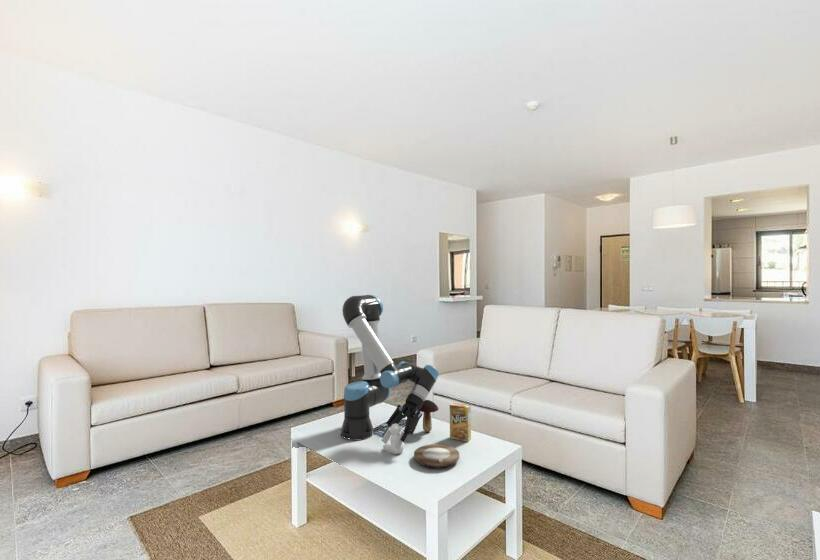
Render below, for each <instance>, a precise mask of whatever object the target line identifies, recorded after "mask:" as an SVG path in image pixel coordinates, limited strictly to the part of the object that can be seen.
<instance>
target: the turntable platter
mask: <svg viewBox="0 0 820 560" xmlns="http://www.w3.org/2000/svg"><path fill="white" fill-rule="evenodd" d="M413 457H414V460H415V461H416V462H418V463H420V464H421V465H422V464H424V465H428V466H447V465H450V466H452V465H453V464H455V463H457V462H458V461H459V459H460V451H458V450H457V448H455V447H453V446H450V445H446V444H441V443H439V444H437V443H433V444H425V445H422V446H419V447H418V448H416V449H415V450H414V452H413ZM451 464H452V465H451ZM424 465H423V466H424Z"/></svg>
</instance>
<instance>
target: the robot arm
mask: <svg viewBox="0 0 820 560" xmlns="http://www.w3.org/2000/svg"><path fill="white" fill-rule="evenodd" d="M383 312H384V304H383V302H382V300H381V299H380V298H379V297H378V296H376V295H373V294H364V295H362V294H361V295H352V296H349V297H348V298H346V300H344V303H343V305H342V317H343V319H344V321H345V324H346V325H347V326H348V328H349V329H352V330H353V332H354V334H355V335H356V337H357V338H358V340H359V341H360V343H361V349H362V350H361V351H362V361H363V371H364V374H363V376H362V377H361V380H360V381H358V380H357V381H352V382H350V383H348V384H346V385H345V387H344V389H343V404H344V405H343V406H344V407H343V410H344V411H343V412H344V415H343V416H344V418H343V422H342V425H341V429H340V436H341V435H342V436H343V437H345V438H350V439H362V440H364V439H363V438H366V439H369V438H371V437H372V436H373V435H372V430H373V431H374V426H373V423H372V420H371V418H370V417H371V416H370V408H372V407H374V406H376V405H378V404H382V403H384V402H385V401H387V400H388V399H389V398H390V395H391V393H392V388H395V387H398V386H400V385H403V384H404V383H408V382H410V383H413V384H414V385H413V387H412V388H411V389H410V391H409V392H410V393H408V395H407V396H406V398H405V403H404V404H403V405H401V404H397V406H396V408H395V410H394V411H393V413H392V414H391V416H390V417H389V418H388V420H387V421H386V425H387V426H388V427H387V428H386V430H385V432H384V435H383V437H382V438H381V442H383V443H384V445H385V444H388V441H390V439H391V435H392V434H391V432H390V430H389V428H390V427H391V426H392V424H395V423H397V424H400V422H401V421H402V420H403V419H405V418H406V420H405V426H404V429H403V430H402V431H400V433H399V434H400V436H399V438H398V439H397V441H396V443H395V445H394V446H395V447H396V448H397V449H399V448H400V446H401V444H402V443H403V442H404V443H405V441H406V439H407V438H408V436H409V435H411V436H412V435H414V433H415V431H416V428H417V426H418V424H419V421H420V419H421V418H422V416H423V412H420V411H419V409H421V407H422V405H423V403H424V401H425V400H427V398H428V396H429V394H430V392H431V390H432V389H433V386H434V385H435V384H436V382H437V380H438V377H439V375H440V372H439V370H438V369H437V368H436V367H435V366H433V365H432V364H426V365H425V366H424V367H420V366H418V365H414V364H412V363H410V362H407V361H400V362H399V363H398V364H397V365H396V363H395V361H394V360H393V359H392V358H391V356H390V355H389V353H388V352H387V350H386V347H384V345H383V344H382V342H381V341H380V339H379V330H378V324H379V322H380V321H381V319H380V318H381V317H380V316H381V315H382V313H383ZM371 435H372V436H371ZM370 436H371V437H370ZM368 437H369V438H368Z"/></svg>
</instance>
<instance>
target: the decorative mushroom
mask: <svg viewBox="0 0 820 560" xmlns="http://www.w3.org/2000/svg"><path fill="white" fill-rule="evenodd" d="M439 409H440V408H439V406H438V405H437V404H436V403H435V402H433V401H432V400H429V399H425V401H424V403H423V405H422V407H421V409H419V411H420V412H421V413H423V415H422V416H423V417H422V429H423V431H424V432H425V433H429V432H431V431H432V427H433V426H432V425H433V423H432V416H431V413H435V412H437V411H439Z"/></svg>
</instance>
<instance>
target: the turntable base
mask: <svg viewBox="0 0 820 560" xmlns="http://www.w3.org/2000/svg"><path fill="white" fill-rule="evenodd" d="M421 465H422V466H424V467H426V468H431V469H444V468H448V467H450V466H453V464H451V465H447V466H428V465H424V464H421Z"/></svg>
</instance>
